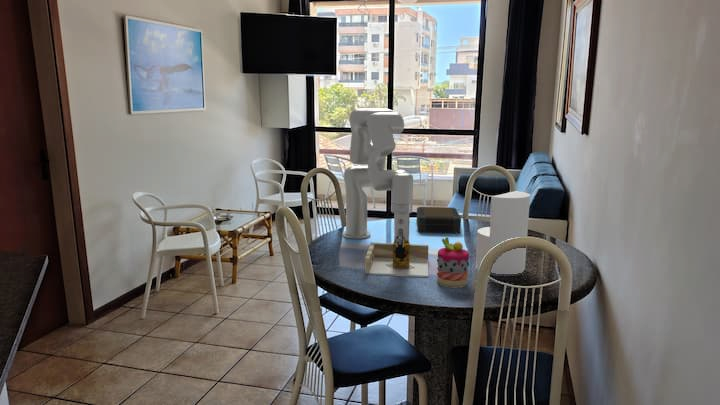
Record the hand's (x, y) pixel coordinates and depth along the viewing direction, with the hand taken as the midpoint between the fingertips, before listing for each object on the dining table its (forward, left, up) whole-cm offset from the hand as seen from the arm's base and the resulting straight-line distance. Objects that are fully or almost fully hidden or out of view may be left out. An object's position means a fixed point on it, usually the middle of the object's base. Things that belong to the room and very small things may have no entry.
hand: (400, 253), depth 186 cm
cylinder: (-5, +36, -6) cm, 37 cm away
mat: (-2, -1, -6) cm, 6 cm away
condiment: (-1, 0, -5) cm, 5 cm away
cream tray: (-2, -1, -6) cm, 6 cm away
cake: (+12, +18, -6) cm, 22 cm away
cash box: (-67, +15, -6) cm, 69 cm away
